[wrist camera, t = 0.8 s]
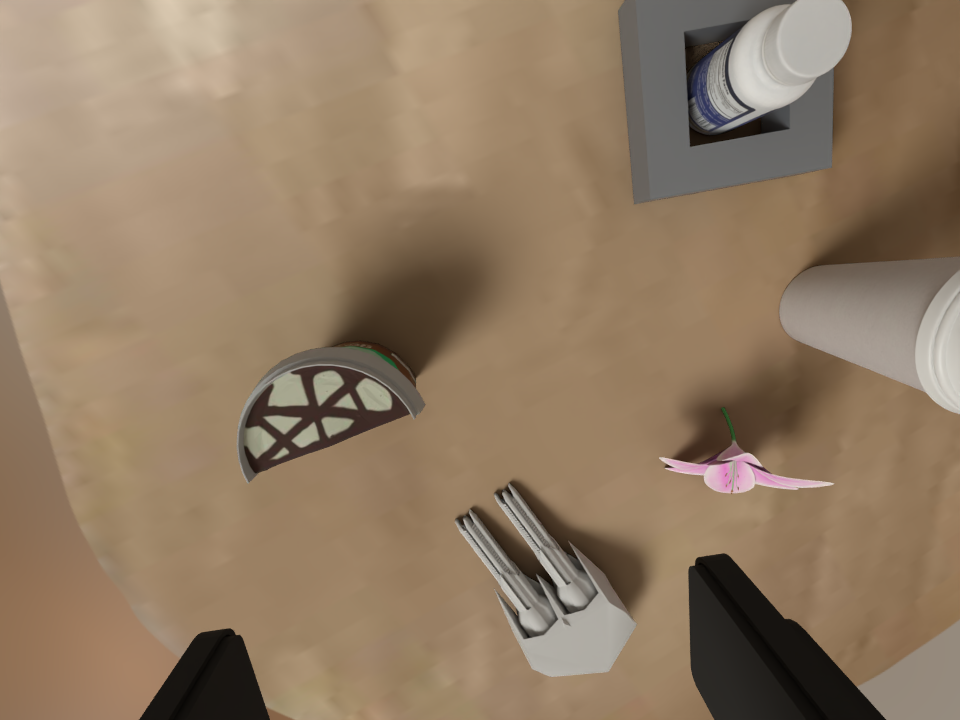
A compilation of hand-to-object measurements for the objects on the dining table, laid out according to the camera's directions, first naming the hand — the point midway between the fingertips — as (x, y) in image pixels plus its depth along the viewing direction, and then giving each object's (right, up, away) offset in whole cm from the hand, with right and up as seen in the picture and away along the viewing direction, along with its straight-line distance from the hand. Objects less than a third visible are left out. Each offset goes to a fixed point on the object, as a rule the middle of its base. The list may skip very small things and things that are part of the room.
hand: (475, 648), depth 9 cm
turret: (+6, -14, +33) cm, 37 cm away
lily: (+20, -2, +31) cm, 37 cm away
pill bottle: (+17, +25, +24) cm, 39 cm away
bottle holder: (+17, +25, +24) cm, 39 cm away
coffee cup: (+28, +11, +28) cm, 41 cm away
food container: (-11, +6, +27) cm, 30 cm away
